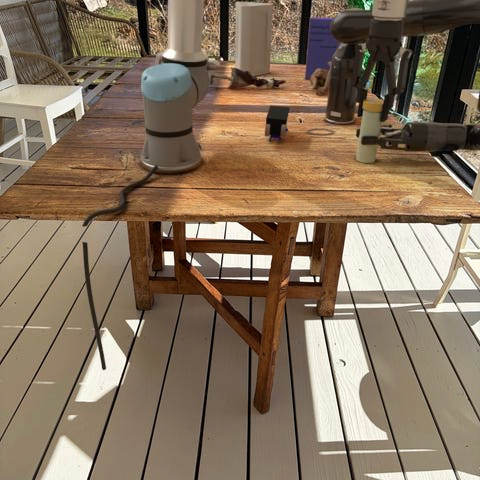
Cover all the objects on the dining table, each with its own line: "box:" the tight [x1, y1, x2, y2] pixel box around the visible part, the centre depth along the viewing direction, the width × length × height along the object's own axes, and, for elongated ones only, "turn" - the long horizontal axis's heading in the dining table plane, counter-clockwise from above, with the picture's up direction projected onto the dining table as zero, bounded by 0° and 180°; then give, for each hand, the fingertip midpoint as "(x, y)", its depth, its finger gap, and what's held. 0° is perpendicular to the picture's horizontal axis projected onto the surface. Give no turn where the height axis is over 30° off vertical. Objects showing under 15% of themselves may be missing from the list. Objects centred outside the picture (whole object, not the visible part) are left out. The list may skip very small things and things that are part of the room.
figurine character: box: [264, 105, 290, 143], centre depth 140 cm, size 7×8×15 cm
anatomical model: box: [309, 61, 331, 96], centre depth 186 cm, size 13×9×15 cm
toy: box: [155, 51, 221, 68], centre depth 223 cm, size 24×25×7 cm
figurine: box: [209, 66, 287, 89], centre depth 190 cm, size 24×8×30 cm
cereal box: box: [304, 17, 339, 80], centre depth 202 cm, size 17×5×24 cm, turn 86°
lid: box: [362, 97, 384, 111], centre depth 120 cm, size 6×6×2 cm
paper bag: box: [234, 1, 274, 77], centre depth 210 cm, size 19×15×28 cm
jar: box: [355, 109, 383, 164], centre depth 123 cm, size 5×5×15 cm
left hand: (372, 118), depth 121 cm, fingers closed on lid, 6 cm apart
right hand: (359, 136), depth 124 cm, fingers closed on jar, 5 cm apart
